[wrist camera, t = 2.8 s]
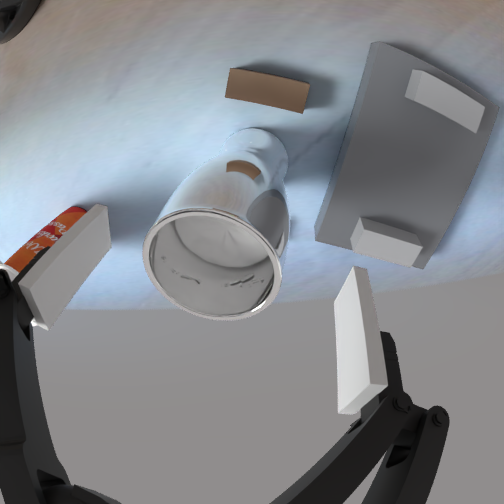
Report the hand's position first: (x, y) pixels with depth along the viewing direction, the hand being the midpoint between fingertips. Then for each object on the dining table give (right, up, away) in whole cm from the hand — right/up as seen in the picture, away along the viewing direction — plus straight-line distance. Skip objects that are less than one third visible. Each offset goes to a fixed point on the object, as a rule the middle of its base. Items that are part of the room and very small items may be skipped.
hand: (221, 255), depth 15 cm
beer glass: (+2, +8, +10) cm, 13 cm away
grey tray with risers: (+15, +8, +8) cm, 19 cm away
